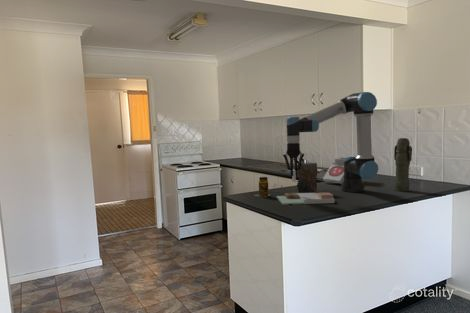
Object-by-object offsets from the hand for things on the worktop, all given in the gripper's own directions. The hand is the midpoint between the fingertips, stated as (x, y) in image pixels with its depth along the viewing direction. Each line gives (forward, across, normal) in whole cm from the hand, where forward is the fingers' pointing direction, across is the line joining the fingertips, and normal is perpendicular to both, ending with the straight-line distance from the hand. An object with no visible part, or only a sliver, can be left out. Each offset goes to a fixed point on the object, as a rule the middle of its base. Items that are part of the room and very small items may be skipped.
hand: (294, 181), depth 214 cm
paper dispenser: (+13, -50, -51) cm, 73 cm away
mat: (+11, +4, +5) cm, 12 cm away
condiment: (+11, +18, -12) cm, 24 cm away
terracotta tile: (+9, -16, +9) cm, 21 cm away
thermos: (+13, -77, -15) cm, 80 cm away
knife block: (+12, -13, -14) cm, 23 cm away
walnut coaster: (+10, +2, 0) cm, 10 cm away
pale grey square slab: (+11, -11, +5) cm, 16 cm away
